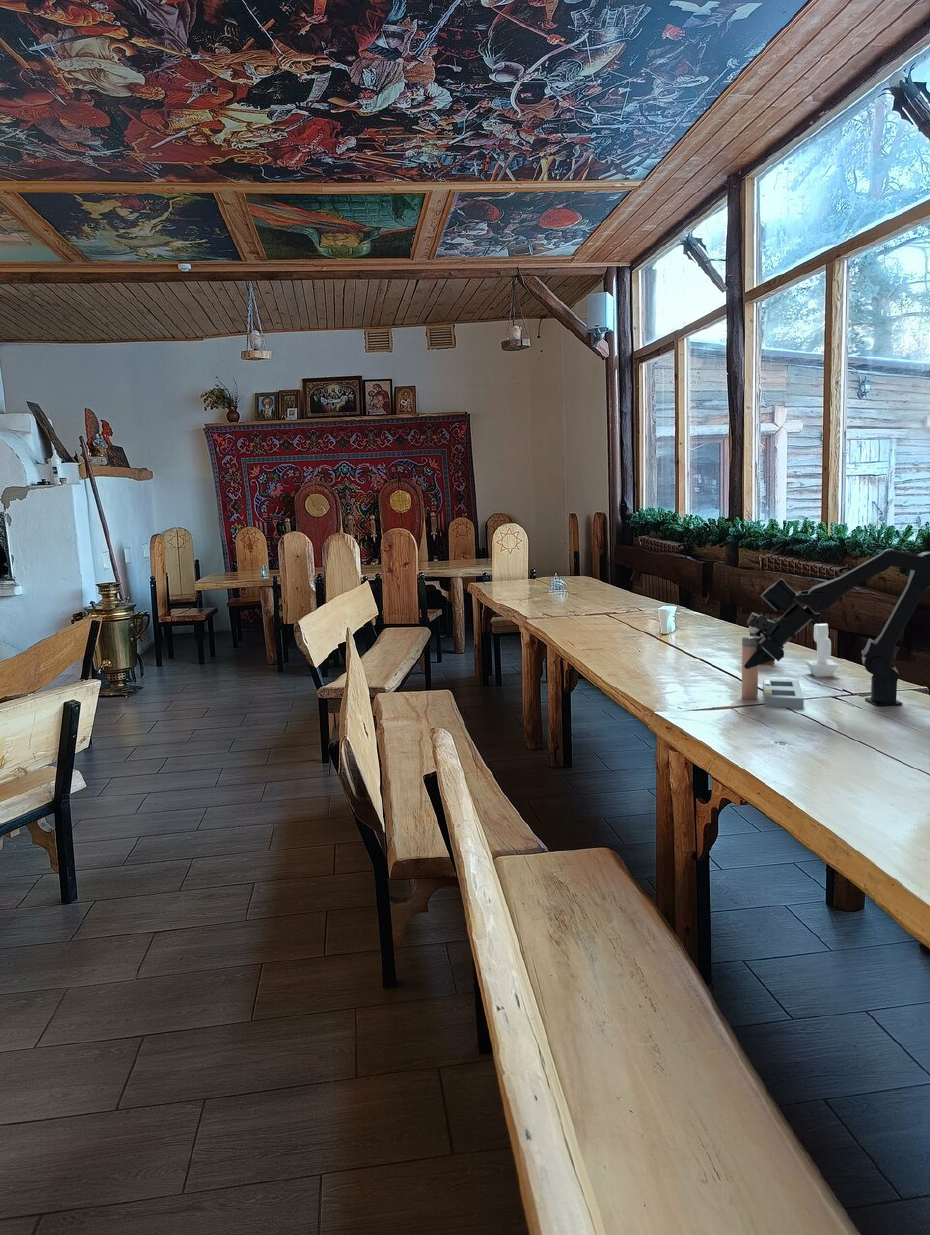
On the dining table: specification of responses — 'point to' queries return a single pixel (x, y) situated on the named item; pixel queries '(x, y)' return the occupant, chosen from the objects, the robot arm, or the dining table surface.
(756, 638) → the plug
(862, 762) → the dining table surface
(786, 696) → the socket plate
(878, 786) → the dining table surface
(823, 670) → the figurine
